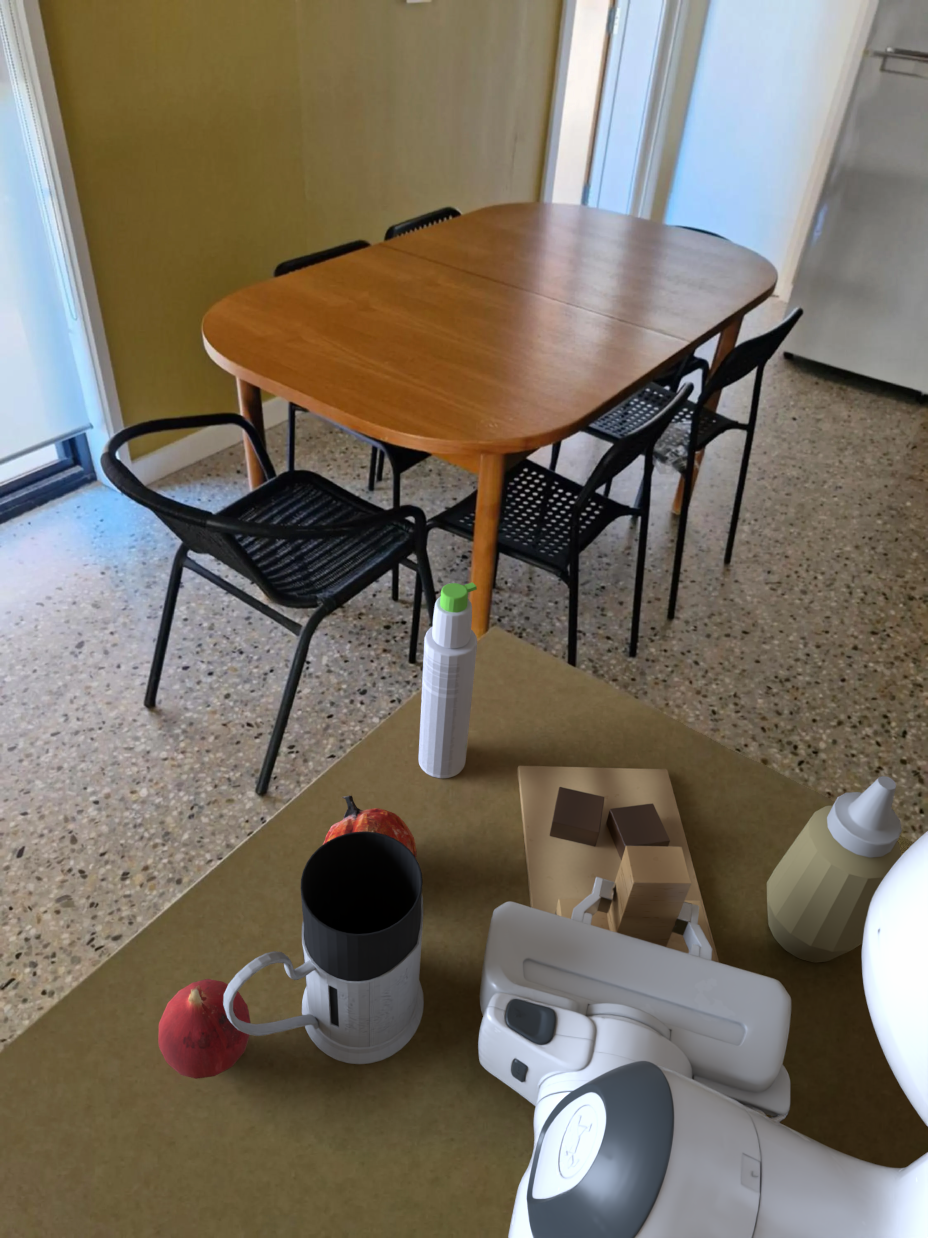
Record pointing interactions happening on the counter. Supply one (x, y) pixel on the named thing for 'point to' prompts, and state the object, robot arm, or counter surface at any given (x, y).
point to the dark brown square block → (636, 827)
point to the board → (576, 865)
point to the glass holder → (354, 950)
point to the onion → (202, 1030)
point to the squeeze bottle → (834, 874)
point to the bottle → (447, 683)
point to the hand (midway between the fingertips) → (644, 895)
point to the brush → (647, 897)
